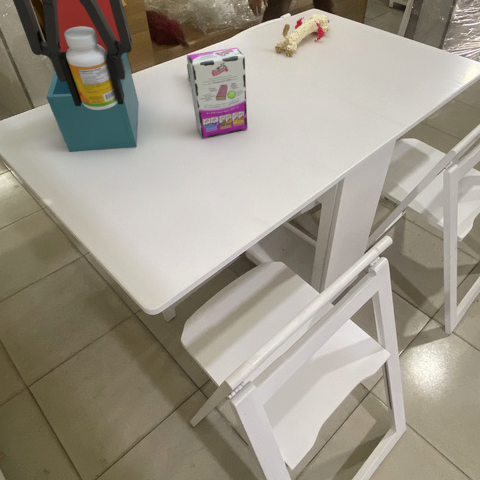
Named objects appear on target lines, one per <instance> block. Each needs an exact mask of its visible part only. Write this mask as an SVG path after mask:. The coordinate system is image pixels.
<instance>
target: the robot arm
mask: <svg viewBox="0 0 480 480" xmlns="http://www.w3.org/2000/svg"><path fill="white" fill-rule="evenodd" d="M79 1H80V3H81V4H82V5H83V6H84V8H85V10H86V11H87V13H88V15H89V17H90V19H91V21H92V22H93V24H94V26H95V28H96V30H97V32H98V33H99V35H100V37H101V39H102V41H103V42H104V44H105V46H106V48H107V50H106V52H107V56H106V62H107V65H108V69H109V73H110V76H111V80H112V83H113V87H114V91H115V94H116V98H117V102H118V104H124V92H123V88H122V84H121V80H123V79H125V73H126V71H125V67H124V63H123V58H122V54H124V53H127V54H129V53H131V52H132V47H133V39H132V35H131V31H130V28H129V23H128V19H127V15H126V12H125V11H126V10H125V8H124V4H123V0H109V2H110V6H111V9H112V13H113V17H114V20H115V24H116V27H117V31H118V35H119V38H120V40H119V41H117V39H116V37H115V35H114V33H113V31H112V29H111V28H110V26H109V24H108V22H107V20H106V18H105V16H104V14H103V12H102V10H101V8H100V6H99V4H98V3H97V1H96V0H79ZM41 2H42V7H43V9H42V10H43V19H44V28H45V39H46V41H45V39H44V37H43V35H42V31H41V29H40V26H39V23H38V20H37V17H36V14H35V10H34V8H33V5H32V2H31V0H12V3H13V4H14V7H15V9H16V11H17V15H18V18H19V20H20V23H21V26H22V28H23V31H24V34H25V36H26V39H27V42H28V44H29V47H30V50H31V52H32V53H33V54H34V55H36V56H44V57H47V58H48V59H49V60H50V61H51V63H52V66H53V70H54V72H56V74H57V77H58V79H59V80H60V81H61V82H67V84H68V87H69V90H70V93H71V95H72V98H73V101H74V104H75V106H81V103H82V101H81V99H80V96H79V93H78V90H77V87H76V84H75V82H74V79H73V76H72V73H71V70H70V67H69V64H68V61H67V58H66V52H60V49H61V46H60V35H59V21H58V7H57V0H41Z"/></svg>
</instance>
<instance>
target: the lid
mask: <svg viewBox="0 0 480 480" xmlns="http://www.w3.org/2000/svg"><path fill="white" fill-rule="evenodd" d="M96 1H97V3H98V4H99V6H100V8H101V10H102V12H103V14H104V16H105V18H106V20H107V22H108V24H109V26H110V28H111V29H112V31H113V33H114V35H115V37H116V39H117V41H119V40H120V38H119V35H118V31H117V27H116V24H115V20H114V17H113V13H112V9H111V6H110V2H109V0H96ZM57 7H58V21H59V35H60V46H61V49H60V52H61V53H62V52H67V50H68V49H69V48H70V47H69V46H68V45H67V42H66V39H65V36H64V33H65V31H66V30H68V29H70V28H73V27H80V26H84V27H90V28H93V29H94V30H95V32H96V35H97V38H98V45H100V46H102V47H103V48H104V49H105V51H108V50H107V48H106V46H105V44H104V42H103V41H102V39H101V37H100V35H99V33H98V32H97V30H96V28H95V26H94V24H93V22H92V21H91V19H90V17H89V15H88V13H87V11H86V10H85V8H84V6H83V5H82V4H81V3H80V1H79V0H57Z"/></svg>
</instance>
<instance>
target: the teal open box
mask: <svg viewBox="0 0 480 480" xmlns="http://www.w3.org/2000/svg"><path fill="white" fill-rule="evenodd" d="M106 53H107V51H106ZM128 57H129V56H128V53H124V54H122V58H123V63H124V67H125V71H126V73H125V79H123V80H121V84H122V88H123V92H124V104H118V102H117V104H116V105H114V106H113V107H110V108H107V109H103V110H92V109H89V108H87V107H85V106H84V105H83V103H81V106H75V104H74V101H73V98H72V95H71V93H70V90H69V87H68V84H67V82H61V81H60V80H59V79H58V77H57V74H56V72H55V71H54V73H53V75H52V79H51V81H50V84H49V88H48V91H47V94H46V99H47V100H46V101H47V102H48V105H49V107H50V109H51V112H52V114H53V117H54V118H55V121H56V123H57V126H58V128H59V131H60V133H61V136H62V138H63V141H64V142H65V145H66V147H67V149H68V151H69V152H82V151H97V150H109V149H123V148H124V149H125V148H137V144H138V143H137V142H138V127H139V126H138V123H139V122H138V121H139V99H138V95H137V90H136V86H135V82H134V78H133V74H132V69H131V65H130V62H129V58H128Z"/></svg>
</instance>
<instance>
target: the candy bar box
mask: <svg viewBox="0 0 480 480" xmlns="http://www.w3.org/2000/svg"><path fill="white" fill-rule="evenodd" d="M245 57H246V56H245V54H243V53H242V51H240V49H239V48H238V47H232V48H225V49H218V50H212V51H206V52H205V51H204V52H199V53H192V54H187V55H186V63H187V64H188V69H189V76H190V81H189V82H190V89H191V95H192V103H193V110H194V118H195V124H196V125H195V126H196V129H197V131H198V132H199V135H200V136H201V138H202V139H208V138H212V137H217V136H221V135H226V134H231V133H235V132H240V131H245V130H248V114H247V111H248V109H247V85H246V84H247V81H246V59H245Z"/></svg>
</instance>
